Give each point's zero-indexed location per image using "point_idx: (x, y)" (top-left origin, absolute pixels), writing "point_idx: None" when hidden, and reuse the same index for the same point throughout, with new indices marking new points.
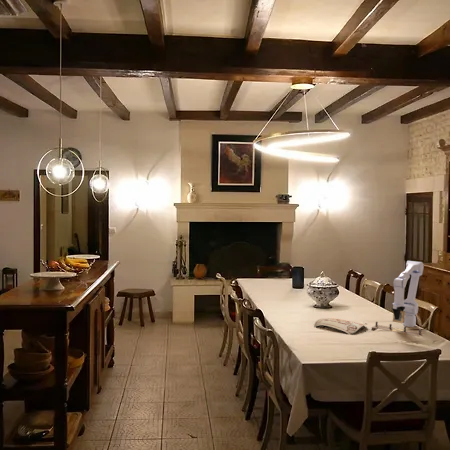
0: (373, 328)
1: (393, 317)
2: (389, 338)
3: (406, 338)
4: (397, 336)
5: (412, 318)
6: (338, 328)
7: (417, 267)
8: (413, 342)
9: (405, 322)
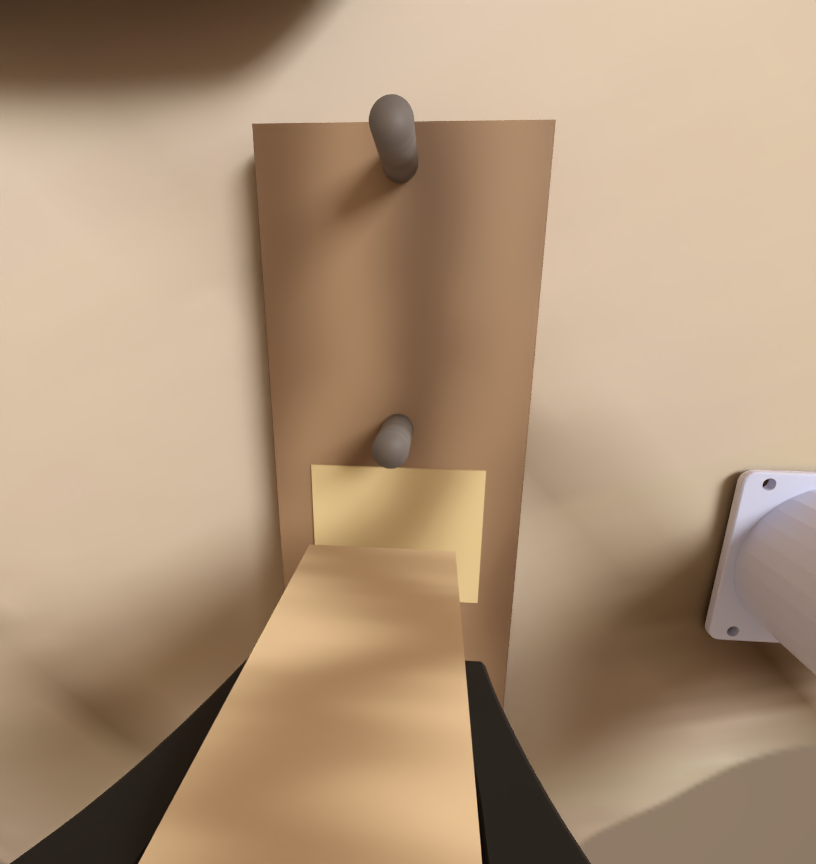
0: (260, 169)
1: (276, 619)
2: (54, 524)
3: (218, 667)
4: (217, 570)
5: None
6: None
7: None
8: (129, 749)
9: (811, 587)
